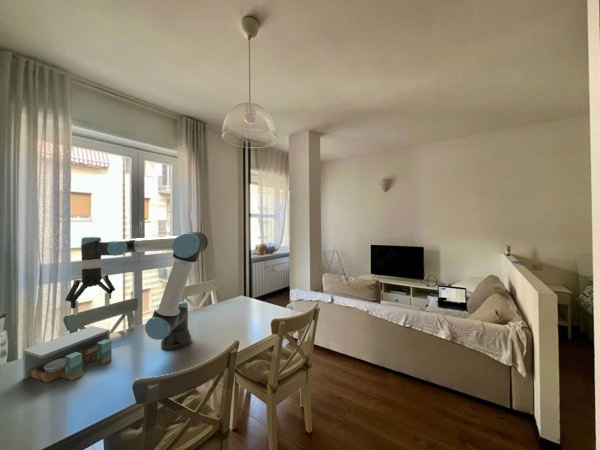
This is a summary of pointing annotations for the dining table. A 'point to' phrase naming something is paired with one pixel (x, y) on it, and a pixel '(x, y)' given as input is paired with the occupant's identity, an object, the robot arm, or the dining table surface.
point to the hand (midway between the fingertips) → (92, 309)
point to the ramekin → (54, 365)
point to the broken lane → (100, 353)
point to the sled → (69, 371)
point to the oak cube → (88, 350)
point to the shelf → (62, 347)
